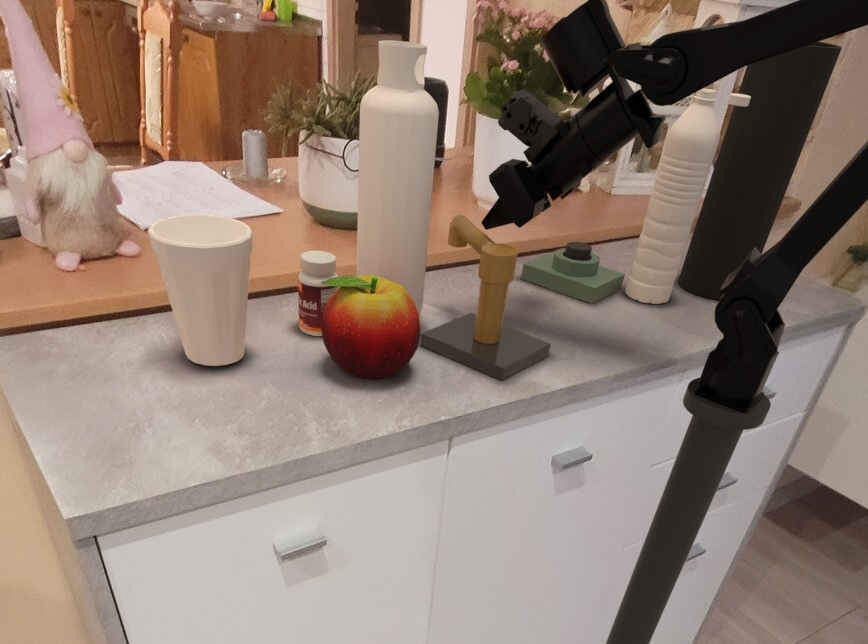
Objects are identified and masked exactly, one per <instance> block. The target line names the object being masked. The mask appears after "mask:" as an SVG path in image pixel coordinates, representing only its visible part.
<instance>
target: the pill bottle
mask: <svg viewBox="0 0 868 644" xmlns="http://www.w3.org/2000/svg"><path fill="white" fill-rule="evenodd" d="M299 262H300V266H299V267H300V270H301V271H300V272H299V273H298V275H297V296H298V297H297V299H298V300H297V301H298V304H297V305H298V327H299V329H300V330H301V331H302V332H303V333H304V334H306V335H309V336H313V337H322V330H321V328H322V318H323V313H324V309H325V306H326V304H327V302H328V300H329V299H330V297H331V296H332V295H333V294H334V292H335V291H336V290H337V289H338V288H339V287H340V286H336V287H334V286H327V285H324V284H322V283H320V282H323V281H326V280H328V279H331V278H334V277H339V274H338V273H337V272H336V271H337V257H336V255H334V254H333V253H331V252H329V251H324V250H307V251H304V252H302V253H301V254H300V261H299Z"/></svg>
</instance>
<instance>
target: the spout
mask: <svg viewBox="0 0 868 644" xmlns="http://www.w3.org/2000/svg"><path fill="white" fill-rule="evenodd" d="M447 245H448V246H450V247H453V248H465V247H467V246H468V245H469V246H470V247H471V248H472V249H473V250H474V251H475V252H476V253H477V254H478V255H479V266H478V272H477V277H478V278H479V279H480V281H481V280H483V281H486V282H489V283H493V284H507V283H509V284H511V283H512V282H513V281H514V280H515V279H514V278H515V273H516V266H517V259H518V254H519V251H518V249H517V248H515V247H513V246H511V245H508V244H502V243H496V242H495V241H494V240H492V238H490V237H489V236H488V235H487V234H486V233H484V231H482V230H481V229H480V228H479V227H478V226H477V225H476V224H474V223H473V222H472V221H471V220H469V218H467V217H466V216H465V215H464V214H456V215H455V216H453V218H452V219H451V221H450V222H449V228H448V238H447Z"/></svg>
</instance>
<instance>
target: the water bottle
mask: <svg viewBox="0 0 868 644" xmlns="http://www.w3.org/2000/svg"><path fill="white" fill-rule="evenodd" d="M695 94H696V95H694V96H693V98H694V99H693V101H692V102H691V104H689V106H688V107H687V108H686V109H685V111H684V112H682V114H681V115H680V116H679V117H678V118H677V119H676V120H675V121H674V123H673V124H672V125H671V127H670V128H669V130H668V132H667V135H666V138H665V143H664V146H663V153H662V154H661V158H660V159H661V160H660V162H659V168H658V169H657V175H656V176H655V182H654V184H653V189H652V191H651V195H650V198H649V201H648V204H647V208H646V215H645V216H644V220H643V223H642V227H641V232H640V233H639V238H638V241H637V247H636V249H635V252H634V259H633V261H632V263H631V267H630V270H629V275H628V277H627V281H626V285H625V288H624V293H625V295H626V296H628V298H630V299H632V300H634V301H636V300H637V301H638V302H639V303H643V304H651V305H660V304H665V303H668V302H669V300H670V299H671V297H672V296H671V295H672V293H673V289H674V285H675V281H676V279H677V277H678V273H679V267H680V265H681V264H682V261H683V258H684V253H685V250H686V247H687V244H688V239H689V238H690V235H691V232H692V229H693V223H694V221H695V219H696V217H697V213H698V211H699V206H700V202H701V200H702V196H703V194H704V189H705V188H706V182H707V181H708V178H709V177H708V175H709V174H710V172H711V167H712V166H713V161H714V159H715V156H716V153H717V150H718V147H719V144H720V139H721V132H720V127H719V122H718V118H717V114H716V110H715V102H716V101H717V99H716V97H717V96H716V95H717V90H715V89H711V88H706V87H705V88H703V89H701V90H699V91H697V92H695ZM750 99H751V96H748V95H744V94H738V92H737V93H736V92H733V93H732V92H731V93H730V94H729V96H728V99H727V104H728V105H732V106H734V105H736V106H748V105H749V102H750Z"/></svg>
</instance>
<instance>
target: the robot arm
mask: <svg viewBox="0 0 868 644" xmlns="http://www.w3.org/2000/svg"><path fill="white" fill-rule="evenodd" d="M866 26H868V0H796V1H793V2H790V3H788V4H784V5H781V6H779V7H777V8H774V9H771V10H769V11H765V12H763V13H759V14H758V15H754V16H752V17H749V18H746V19H744V20H738V21H731V22H726V23H720V24H714V25H707V26H702V27H701V26H700V27H696V28H690V29H684V30H679V31H675V32H671V33H667V34H663V35H662V36H660V37H658V38H656V39H655V40H654V41H653V42H652V43H651V44H644V45H643V44H641V42H639V41H638V42H634V43H629V44H627V45H626V43H625V41H624V38H623V37H622V35H621V33H620V31H619V29H618V27H617V25H616V23H615V21H614V19H613V17H612V15H611V11H610V7H609V4H608V2H607V0H587V1H585V2H584V3H582V4H581V5H579V6H578V7H576V8H575V9H574V10H572V11H571V12H570V13H569V14H568V15H567V16H563V17H561V18H560V19H559V20H558V21H557V22H556V23H555V24H554V25H553V26H552V27H551V28H550V29H549V31H548V32H547V33H546V34H545V35H544V37H543V38H542V40H541V42H540V44H541V46H542V47H543V50H544V52H545V53H546V55H547V58H548V60H549V61H550V62H551V64H552V66H553V69H554V70H555V72H556V74H557V76H558V78H559V80H560V82H561V84H562V85H563V87H564V89H565V91H566V92H567V93H566V94H568V95H569V96H571V95H576V94H578V93H579V95H580V96H581V98H582V99H584V98H586V97H588V96H589V95H590V94H592V93H593V92H594V91H596V89H598V88H599V87H600V86H601V85H603V84H604V83H605V82H606V81H607V80H609V78H610V80H611V82H610V83H609V84H608V85H607V86H605V87H604V88H603V89H602V90H601V91H600V92H599V93H598V94H597V95H595V96H594V97H593V98H592V99H590V100H589V102H587V103H586V104H585V105H584V106H582V107H581V108H580V109H579V110H578V111H577V112H575V113H574V114H573V115H572V114H571V115H570V116H568V117H567V118H566V119H565V118H563V119H561V118H559V117H558V116H557V115H556V114H555V113H554V112H553V110H551V109H550V108H548V107H547V106H546V104H544V103H543V102H541V101H540V100H539V99H538V98H537V97H536V96H534V95H533V94H532V93H530V92H529V91H527V90H525V89H521V90H517V91H514V92H512V94H511V95H510V98H509V99H508V101H506V102H505V103H503V104H502V105H501V107H500V108H501V109H500V111H501V114H500V116H499V118H498V120H497V124H498V126H499V127H500V128H501V129H503V131H507V132H508V133H510V134H511V135H513V136H514V137H515V138H516V139H517V140H518V141H519V142H520V143H522V144H523V145H524V146H526V147H527V148H526V149H525V150H524V151H523V154H524V156H525V159H526V160H521V159H517V158H511V159H509V160H507V161H505V162H503V163H501V164H500V165H499V166H497V168H496V169H495V170H493V171H492V172H491V173H490V174H489V175H488V180H489V184H490V185H491V186H492V188H493V190H494V191H495V193H496V195H497V196H498V198H497V200H496V201H495V203H493V205H492V206H491V208H490V209H489V211H488V212H487V213H486V215H485V216H484V218H483V219H482V220H481V226H482V227H483V228H484V230H486V231H487V230H491V229H495V228H499V227H503V226H506V225H507V226H508V225H512V224H514V226H516V227H517V228H519V229H521V228H522V227H524V226H525V225H527V224H528V223H529V222H530V221H532V220H533V219H535V218H537V217H538V216H539V215H541V213H544V212H545V211H547V210H548V209H550V208H551V207H552V204H551V201H552V202H555V201H556V200H557V199H561V200H564V199H565V198H567V197H569V196H570V195H571V194H572V193H574V192H575V191H576V190H577V189H578V188H580V187H581V183H582V180H583V179H584V178H586V177H587V176H588V175H590V174H591V173H592V172H595V170H597V169H598V168H599V167H601V166H602V165H604V162H606V161H607V160H609V159H610V158H611V157H612V156H614V155H615V154H616V153H617V152H619V151H620V150H621V149H622V148H624V147H625V146H626V145H628V144H629V143H630V142H632V141H633V140H634V139H635V138H636V137H638V136H640V138H641V140H642V143H643V144H644V146H645V148H647V149H651V148H652V147H654V146H655V145H657V144H658V143H659V142H660V138H661V132H662V127H663V125H664V123H665V121H666V119H667V116H666V115H664V114H656V113H654V110H653V109H652V107H651V104H650V103H649V102H651V103H652V104H654V105H655V106H659V107H666V106H672V105H674V104H677V103H679V102H680V101H682V100H684V99H686V98H688V97H689V96H692V95H694V94H696V93H697V91H699V90H701V89H703V88H705V89H706V87H709V86H710V85H713V84H714V83H716V82H718V81H719V80H722V79H724V78H725V77H727V76H729V75H731V74H732V73H735V72H737V71H738V70H741V69H742V68H744V67H747V65H750V64H753V63H756V62H759V61H762V60H765V59H768V58H771V57H774V56H777V55H780V54H783V53H786V52H789V51H792V50H795V49H798V48H801V47H804V46H807V45H810V44H813V43H816V42H823V41H824V40H827V39H831V38H833V37H836V36H839V35H842V34H846V33H849V32H851V31H854V30H857V29H860V28H864V27H866ZM629 82H632V83H634V84H637V85H639V86H640V88H639V89H638V90H636V91H635V90H634V89H633V87H632V86H631V85H630V83H629ZM548 195H549V196H548ZM550 200H551V201H550ZM867 202H868V140H867V141H866V142H865V143H864V144H863V145H862V146H861V147H860V149H858V151H857V152H856V153H855V155H853V157H852V158H851V159H850V160H849V161H848V162H847V163H846V165H845V166H844V167H843V168H842V169H841V170H840V171H839V172H838V174H837V175H836V176H835V177H834V178H833V179H832V181H830V183H829V184H828V185H827V186H826V187H825V189H824V190H823V191H822V192H821V193H820V194H819V196H818V197H817V198H816V199H814V201H813V202H812V203H811V205H809V207H808V208H807V209H806V210H805V211H804V213H803V214H801V216H800V217H799V218H798V219H797V221H796V222H794V224H793V225H792V226H791V228H789V230H787V232H786V233H785V235H783V237H782V238H781V239H779V241H778V242H776V243H775V244H773V246H772V247H770V248H769V249H767V250H766V251H764V252H762V254H761V253H760V252H759V251H758V249H757V248H756V247H755V246H754V247H752V249H751V250H750V252H749V254H748V255H747V257H746V258H745V260H744V262H743V263H742V264H741V266H740V267H739V268H737V269H736V270H735V271H734V272H732V273H730V274H729V275H728V276H727V278H726V280H725V281H724V283H723V285H722V287H721V289H720V290H719V294H723V295H722V296H721V298H720V300H718V301H717V304H716V306H715V307H714V323H715V325H716V328H717V329H718V331H719V332H720V333H721V334H722V338H721V339H720V340H718V341H717V345H716V347H715V348H713V349H712V350H711V351H710V352H708V355H707V357H706V361H705V363H704V365H703V369H702V372H701V374H700V376H699V378H700V379H699V385H701V386H700V387H699V388H697V389H696V391H695V394H696V395H698V396H700V397H703V398H706V399H708V400H711V401H713V402H716V403H719V404H721V405H724V406H726V407H729V408H731V409H734V410H737V411H739V412H742V413H746V412H747V411H749V410H750V409H751V408H752V407H753V406H754V405H755V404H756V403H757V402H758V401H759V400H760V399H762V398H763V396H764V394H765V392H764V391H763V390H764V388H765V385H766V383H767V381H768V379H769V376H770V374H771V373H772V370H773V367H774V365H775V363H776V361H777V359H778V356H779V353H780V352H779V351H778V350H779V346H780V343H781V340H782V336H783V334H784V330H785V328H786V322H785V321H784V319H783V317H782V314H781V313H780V310H779V307H780V306H781V304H782V303H783V302H784V300H785V299H786V297H787V295H788V293H789V292H790V291H791V289H792V287H793V285H795V282H796V281H797V280H798V278H799V276H800V275H801V273H802V272H803V271H804V270H805V268H806V267H807V266H808V265H809V264H810V262H811V261H812V260H814V258H815V257H816V256H817V255H818V254H819V253H820V252H821V250H823V249H824V248H825V246H827V244H829V242H830V241H832V239H833V238H834V237H835V236H836V235H837V234H838V233H839V231H840V230H841V229H842V228H843V227H844V226H845V225H846V224H847V223H848V222H849V221H850V219H852V217H854V215H855V214H856V213H857V212H858V211H859V210H860V209H861V208H862V207H863V205H865V204H866V203H867Z"/></svg>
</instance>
